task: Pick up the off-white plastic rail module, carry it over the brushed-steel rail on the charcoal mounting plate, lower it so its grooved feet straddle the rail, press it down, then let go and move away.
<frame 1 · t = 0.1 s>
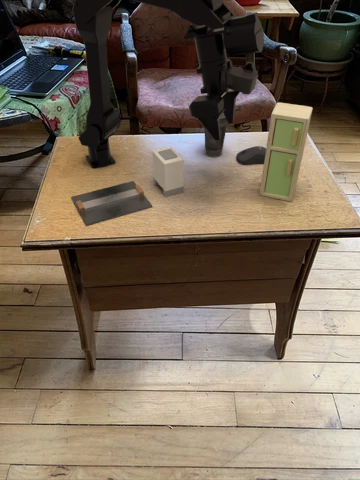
hand: (224, 131, 92), 15 cm above the table, tool pointing down, fingers open, 9 cm apart
toy refrigerator: (276, 193, 101), on the table
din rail: (111, 202, 97), on the table
beverage cup: (213, 153, 116), on the table
rail module: (168, 187, 102), on the table
computer mouse: (252, 161, 113), on the table
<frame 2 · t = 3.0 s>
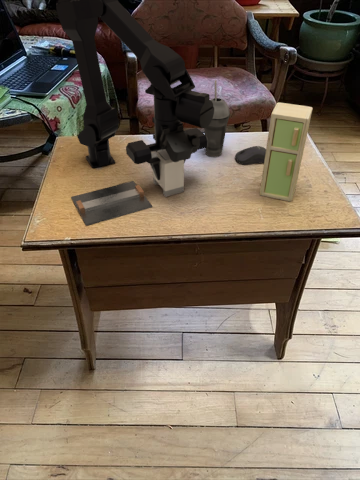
hand: (168, 176, 100), 3 cm above the table, tool pointing down, fingers closed on rail module, 5 cm apart
rail module: (168, 187, 102), on the table, touching gripper
everything else where it was.
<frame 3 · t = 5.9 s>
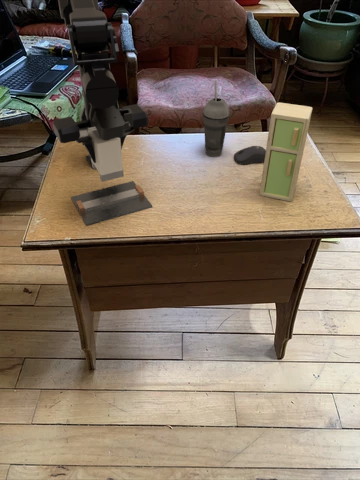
hand: (106, 159, 90), 12 cm above the table, tool pointing down, fingers closed on rail module, 5 cm apart
rail module: (107, 171, 92), point 8 cm above the table, touching gripper
everything else where it was.
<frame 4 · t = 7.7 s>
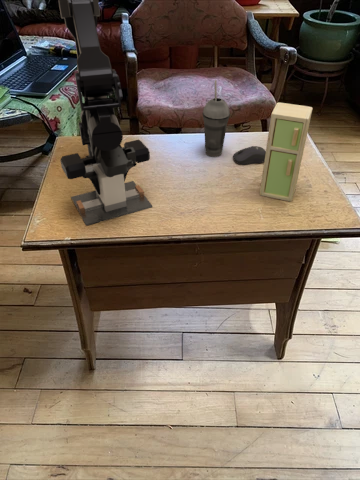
hand: (109, 190, 95), 3 cm above the table, tool pointing down, fingers closed on rail module, 5 cm apart
rail module: (111, 201, 97), resting on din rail, touching gripper
everything else where it was.
when the fingers open (3 cm above the table, at t = 8.8 s): rail module stays where it is, resting on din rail.
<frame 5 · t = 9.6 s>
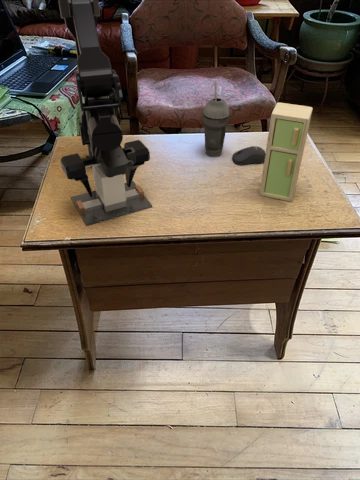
hand: (110, 191, 95), 3 cm above the table, tool pointing down, fingers open, 9 cm apart
rail module: (111, 201, 97), resting on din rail
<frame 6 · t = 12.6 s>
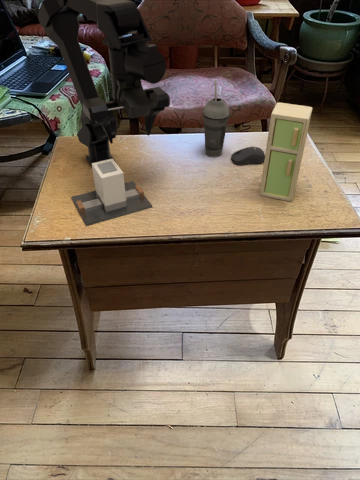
hand: (129, 138, 96), 12 cm above the table, tool pointing down, fingers open, 9 cm apart
at the end: rail module inside the target area on the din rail (0.0 cm from its centre), point 0.4 cm above the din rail's base; rail module tilted 0°; the gripper is holding nothing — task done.
